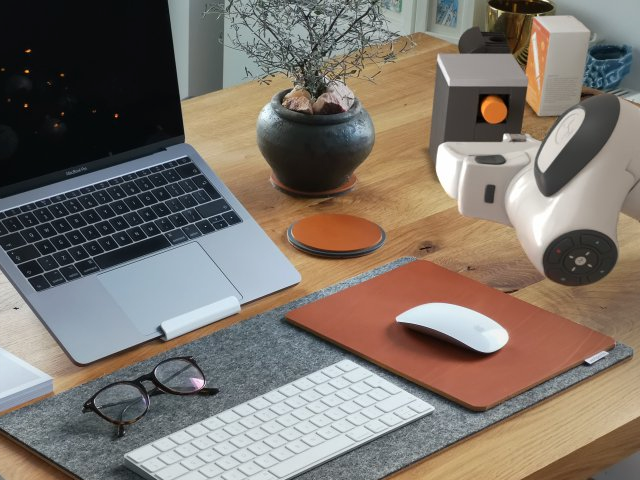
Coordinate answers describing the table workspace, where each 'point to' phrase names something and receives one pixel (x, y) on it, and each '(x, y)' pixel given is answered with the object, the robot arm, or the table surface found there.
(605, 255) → the robot arm
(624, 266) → the table surface
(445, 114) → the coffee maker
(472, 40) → the end cap
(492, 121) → the power button
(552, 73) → the small box
